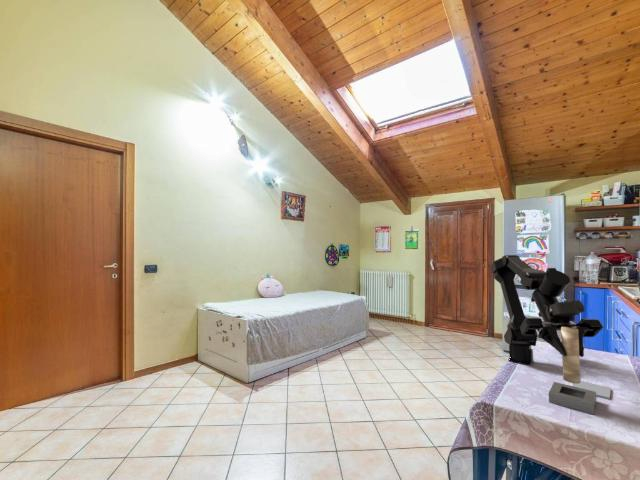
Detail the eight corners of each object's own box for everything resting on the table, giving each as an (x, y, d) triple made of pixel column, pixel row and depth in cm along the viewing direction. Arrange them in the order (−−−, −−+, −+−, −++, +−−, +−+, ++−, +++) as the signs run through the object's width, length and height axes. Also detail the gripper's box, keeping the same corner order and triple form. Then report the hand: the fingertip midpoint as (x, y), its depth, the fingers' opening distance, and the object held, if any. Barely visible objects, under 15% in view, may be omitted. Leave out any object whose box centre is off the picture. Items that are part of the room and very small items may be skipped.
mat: (571, 390, 87) (571, 388, 87) (574, 381, 93) (574, 379, 93) (609, 399, 82) (609, 397, 82) (610, 389, 87) (610, 387, 87)
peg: (562, 380, 81) (560, 328, 82) (564, 376, 84) (562, 325, 84) (579, 384, 79) (577, 331, 79) (581, 380, 81) (578, 328, 82)
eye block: (548, 402, 81) (548, 392, 81) (554, 390, 88) (554, 381, 88) (593, 414, 75) (593, 404, 75) (596, 401, 81) (595, 391, 81)
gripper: (523, 289, 87) (545, 339, 76) (596, 290, 84) (631, 342, 73) (512, 311, 95) (531, 359, 84) (579, 312, 92) (608, 362, 80)
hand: (573, 355), depth 80 cm, fingers closed on peg, 4 cm apart
